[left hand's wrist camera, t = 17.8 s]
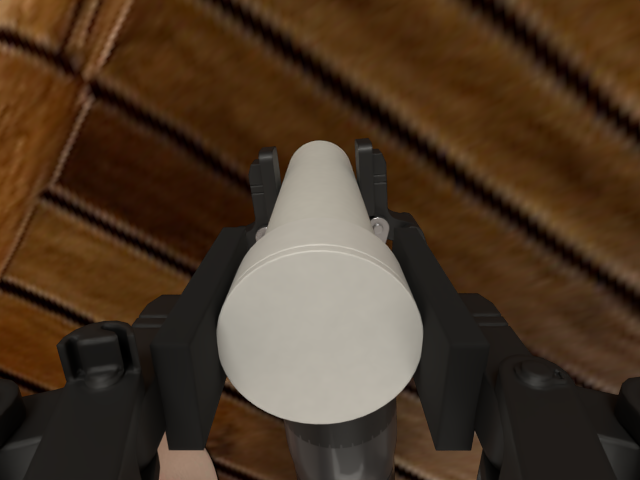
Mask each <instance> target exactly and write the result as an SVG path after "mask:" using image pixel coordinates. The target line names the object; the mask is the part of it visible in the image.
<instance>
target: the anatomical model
mask: <svg viewBox="0 0 640 480" xmlns="http://www.w3.org/2000/svg"><path fill="white" fill-rule="evenodd" d="M157 450H158V455H159V461H160V475H159V480H218V479H217V475H216V472H215V468H214V466H213V463H212V460H211V458H210V456H209V454H208V452H207V451H206V449H205V448H204V450H169V449H168V444H167V438H166V433H164V435H163V438H162V440H161V442H160V445H159V447H158V449H157Z"/></svg>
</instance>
